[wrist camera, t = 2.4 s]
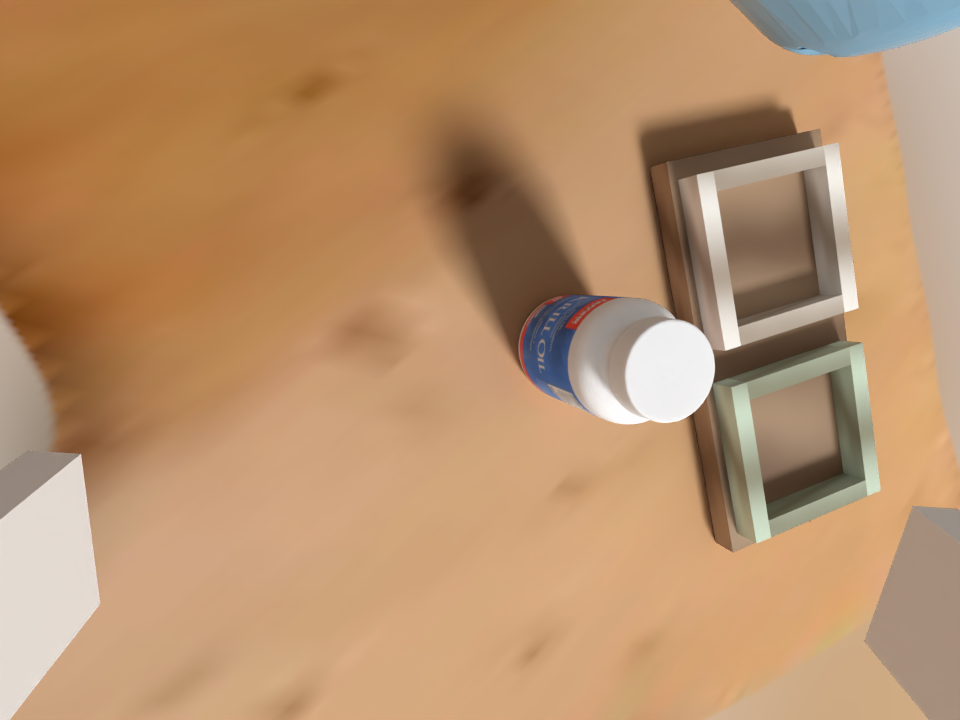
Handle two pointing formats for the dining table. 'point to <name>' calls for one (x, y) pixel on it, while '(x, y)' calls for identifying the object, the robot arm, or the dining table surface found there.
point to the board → (771, 331)
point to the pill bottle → (617, 358)
